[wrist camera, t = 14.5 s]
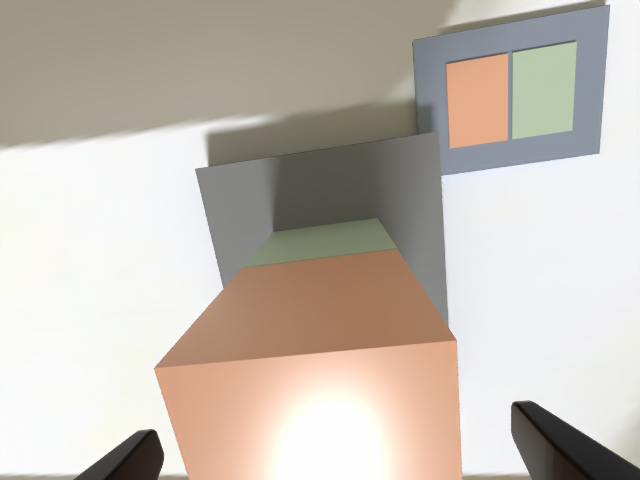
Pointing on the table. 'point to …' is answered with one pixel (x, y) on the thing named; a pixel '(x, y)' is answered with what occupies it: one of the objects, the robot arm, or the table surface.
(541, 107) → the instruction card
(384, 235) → the sage brick
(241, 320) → the terracotta brick
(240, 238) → the base plate
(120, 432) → the table surface
